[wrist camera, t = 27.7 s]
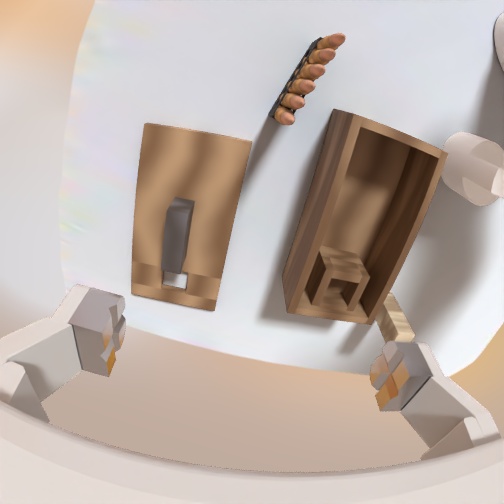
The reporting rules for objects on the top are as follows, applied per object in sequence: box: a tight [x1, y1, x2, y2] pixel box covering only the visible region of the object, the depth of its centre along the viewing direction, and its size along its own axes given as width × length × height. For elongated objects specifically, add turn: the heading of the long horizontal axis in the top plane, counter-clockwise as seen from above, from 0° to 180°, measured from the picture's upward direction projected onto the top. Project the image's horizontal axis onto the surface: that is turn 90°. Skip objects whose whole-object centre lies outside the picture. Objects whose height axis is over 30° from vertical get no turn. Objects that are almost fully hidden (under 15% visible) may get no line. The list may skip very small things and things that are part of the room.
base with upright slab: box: [441, 132, 504, 206], centre depth 31 cm, size 9×9×12 cm
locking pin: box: [375, 293, 415, 343], centre depth 43 cm, size 3×3×10 cm
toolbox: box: [282, 109, 448, 325], centre depth 36 cm, size 12×24×8 cm, turn 167°
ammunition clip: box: [269, 33, 345, 125], centre depth 27 cm, size 11×2×12 cm, turn 151°
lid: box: [131, 123, 252, 311], centre depth 39 cm, size 13×25×6 cm, turn 167°
